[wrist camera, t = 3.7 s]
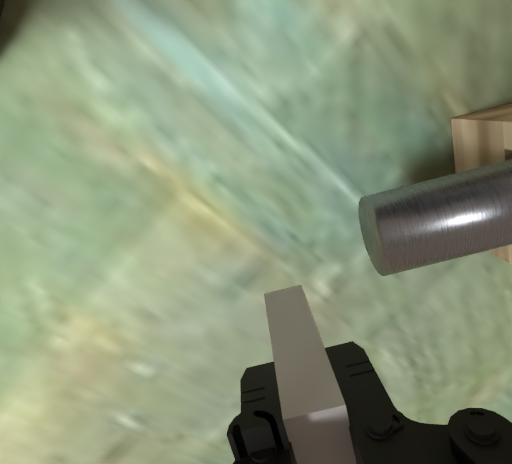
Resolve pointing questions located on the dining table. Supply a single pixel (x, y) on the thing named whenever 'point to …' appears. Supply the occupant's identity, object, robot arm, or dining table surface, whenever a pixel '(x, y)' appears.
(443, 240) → the axle
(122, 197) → the dining table surface
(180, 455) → the dining table surface
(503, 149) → the brown wooden block
